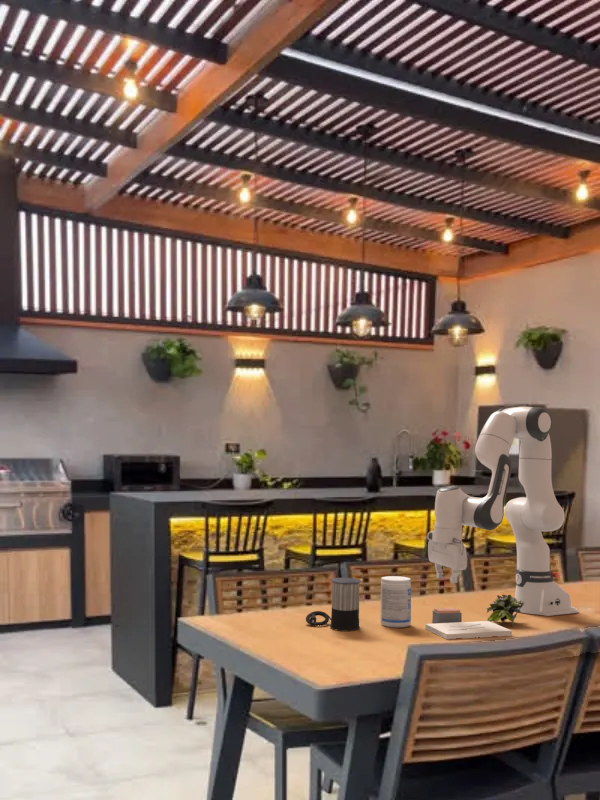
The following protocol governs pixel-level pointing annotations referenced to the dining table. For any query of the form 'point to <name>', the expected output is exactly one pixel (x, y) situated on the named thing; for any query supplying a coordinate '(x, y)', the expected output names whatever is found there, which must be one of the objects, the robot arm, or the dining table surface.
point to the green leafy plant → (504, 608)
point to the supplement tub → (395, 601)
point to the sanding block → (446, 615)
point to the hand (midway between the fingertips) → (446, 580)
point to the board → (468, 629)
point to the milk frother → (341, 606)
